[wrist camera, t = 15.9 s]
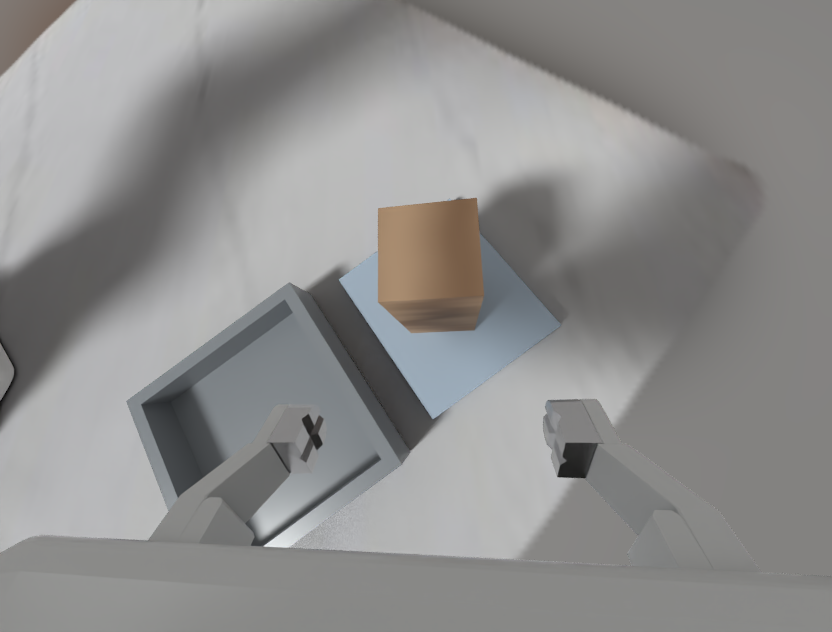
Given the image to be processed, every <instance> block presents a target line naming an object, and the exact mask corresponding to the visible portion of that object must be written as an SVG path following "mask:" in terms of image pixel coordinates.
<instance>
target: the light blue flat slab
mask: <svg viewBox="0 0 832 632" xmlns="http://www.w3.org/2000/svg"><path fill="white" fill-rule="evenodd" d="M447 201H452V200H451V199H448V200H447ZM479 234H480V247H481V260H482V274H483V287H484V298H483V301H482V305H481V309H480V312H479V316H478V319H477V323H476V327H475V330H471V331H450V332H428V333H410V332H409V331H408V330H407V329H406V328H405V327H404V326H403V325H402V324H401V323H400V322H399V321H398V320H397V319H395V318H394V317H393V316H392V315H391V314H390V313H389V312H388V311H387V310H386V309H385V308H384V307H383V306H381V305H380V304H379V303H378V251H377V252H376V253H374V254H373V255H372V256H370V257H369V258H368V259H366V260H365V261H363V262H362V263H361V264H359V265H358V266H357V267H355V268H354V269H353V270H351V271H350V272H348V273H347V274H346V275H344V276H343V277H342V278H340V279H339V281H340V283H341V284H342V286H343V287H344V289H345V290H346V292H347V293H348V294H349V296H350V297H351V299H352V300H353V302H354V303H355V305H356V306H357V308H358V309H359V311H360V312H361V314H362V315H363V317H364V318H365V320H366V321H367V323H368V324H369V326H370V327H371V329H372V330H373V331H374V333H375V334H376V336H377V337H378V339H379V340H380V342H381V343H382V345H383V346H384V348H385V349H386V351H387V352H388V354H389V355H390V357H391V358H392V360H393V361H394V363H395V364H396V366H397V367H398V368H399V370H400V371H401V373H402V374H403V376H404V377H405V379H406V380H407V382H408V383H409V385H410V386H411V388H412V389H413V391H414V392H415V394H416V395H417V397H418V398H419V400H420V401H421V403H422V404H423V405H424V407H425V408H426V410H427V411H428V413H429V414H430V416H431V417H432V419H434V418H436V417H437V416H438V415H440V414H441V413H442V412H444V411H445V410H447V409H448V408H449V407H451V406H452V405H453V404H455V403H456V402H457V401H459V400H460V399H462V398H463V397H464V396H466V395H467V394H468V393H470V392H471V391H472V390H474V389H475V388H477V387H478V386H479V385H481V384H482V383H483V382H485V381H486V380H487V379H489V378H490V377H492V376H493V375H494V374H496V373H497V372H498V371H500V370H501V369H502V368H504V367H505V366H507V365H508V364H509V363H511V362H512V361H513V360H515V359H516V358H517V357H519V356H520V355H522V354H523V353H524V352H526V351H527V350H528V349H530V348H531V347H532V346H534V345H535V344H537V343H538V342H539V341H541V340H542V339H543V338H545V337H546V336H547V335H549V334H550V333H552V332H553V331H554V330H556V329H557V328H558V327H560V326H561V324H560V323H559V322H558V321H557V319H556V318H555V317H554V316H553V315H552V314H551V313H550V311H549V310H548V309H547V308H546V307H545V306H544V305H543V304H542V302H541V301H540V300H539V299H538V298H537V297H536V296H535V294H534V293H533V292H532V291H531V290H530V289H529V288H528V287H527V285H526V284H525V283H524V282H523V281H522V280H521V279H520V277H519V276H518V275H517V274H516V273H515V272H514V271H513V270H512V268H511V267H510V266H509V265H508V264H507V263H506V262H505V260H504V259H503V258H502V257H501V256H500V255H499V254H498V252H497V251H496V250H495V249H494V248H493V247H492V246H491V245H490V243H489V242H488V241H487V240H486V239H485V238H484V237H483V235H482V234H481V233H480V232H479Z"/></svg>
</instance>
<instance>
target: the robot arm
mask: <svg viewBox="0 0 832 632" xmlns="http://www.w3.org/2000/svg"><path fill="white" fill-rule="evenodd" d="M13 376H14V368H13V365H12V364H11V362H10V360H9V358H8V356H7V354H6V353H5V351H4V349H3V347H2V345H1V344H0V400H1V399H2V397H3V396H4V394H5V392H6V390H7V389H8V387H9V385H10V383H11V381H12V379H13ZM545 409H546V412H547V414H546V415H545V416H544V418H543V432H544V436H545V440H546V443H547V445H548V446H549V447H550V448H551V449H552V454H551V459H552V463H553V466H554V469H555V472H556V475H557V477H564V478H586V481H587V482H588V483H589V484H590V485H591V486H592V487H593V488H594V489H595V490H596V492H597V493H598V494H599V495H600V496H601V497H602V498H603V499H604V500H605V501H606V502H607V503H608V504H609V505H610V507H611V508H612V509H613V510H614V511H615V512H616V513H617V514H618V515H619V516H620V517H621V518H622V519H623V520H624V522H625V523H626V524H628V526H629V527H630V528H631V529H632V530H633V531H634V532H635V533H636V534H637V535H638V537H637V539H636V541H635V542H634V544H633V545H632V547H631V549H630V550H629V552H628V554H627V555H628V557H629V560H630V562H631V565H632V566H628V565H608V564H589V563H571V562H551V561H533V560H532V561H531V560H514V559H494V558H475V557H456V556H437V555H418V554H398V553H379V552H360V551H341V550H321V549H302V548H282V547H263V546H251V543H252V541H253V539H254V533H253V532H252V531H251V529H250V528H249V527H248V526H247V525H246V524H245V523H246V522H247V521H248V520H249V519H250V518H251V517H252V516H253V515H254V514H255V513H256V512H257V510H258V509H259V508H260V507H261V506H262V505H263V504H264V503H265V502H266V501H267V500H268V498H269V497H270V496H271V495H272V494H273V493H274V492H275V491H276V490H277V489H278V488H279V487H280V485H281V484H282V483H283V482H284V481H285V480H286V479H287V478H288V477H289V476H290V474H305V473H313V470H314V467H315V465H316V462H317V460H318V457H319V454H318V451H317V450H318V449H319V448H320V447H321V446H322V445H323V444H324V441H325V438H326V432H327V427H326V422H325V419H324V418H322V417H321V416H320V415H319V414H320V411H321V410H320V408H319V406H318V405H301V404H278V405H277V406H275V407H274V408H273V410H272V411H271V413H270V415H269V416H268V418H267V420H266V421H265V423H264V425H263V426H262V428H261V430H260V431H259V433H258V435H257V436H256V438H255V440H254V441H253V443H248V444H247V445H246V446H244V447H243V448H242V449H240V450H239V451H238V452H236V453H235V454H234V455H232V456H231V457H230V458H229V459H227V460H226V461H225V462H223V463H222V464H221V465H219V466H218V467H217V468H215V469H214V470H213V471H211V472H210V473H209V474H207V475H206V476H205V477H203V478H202V479H201V480H200V481H198V482H197V483H196V484H194V485H193V486H192V487H190V488H189V489H188V490H186V491H185V492H184V493H182V494H181V495H180V496H179V498H178V499H177V500H176V502H175V503H174V505H173V506H172V508H171V509H170V510H169V512H168V513H167V515H166V516H165V517H164V519H163V520H162V522H161V523H160V524H159V526H158V527H157V529H156V530H155V531H154V533H153V534H152V536H151V537H150V538H149V540H148V541H147V540H127V539H108V538H88V537H68V536H53V535H40V536H34V537H30V538H27V539H25V540H23V541H21V542H19V543H17V544H15V545H14V546H12V547H10V548H8V549H6V550H5V551H3V552H1V553H0V632H832V576H819V575H801V574H782V573H781V574H780V573H763V572H761V570H760V569H759V567H758V566H757V565H756V563H755V562H754V560H753V559H752V558H751V556H750V555H749V553H748V552H747V550H746V549H745V548H744V546H743V545H742V543H741V542H740V540H739V539H738V538H737V536H736V535H735V533H734V532H733V530H732V529H731V528H730V526H729V525H728V523H727V522H726V520H725V519H724V517H723V516H722V515H721V513H720V512H719V511H718V510H717V509H716V508H714V507H713V506H712V505H710V504H709V503H708V502H706V501H705V500H704V499H702V498H701V497H699V496H698V495H697V494H695V493H694V492H693V491H691V490H690V489H689V488H687V487H686V486H685V485H683V484H682V483H680V482H679V481H678V480H676V479H675V478H674V477H672V476H671V475H670V474H668V473H667V472H665V471H664V470H663V469H661V468H660V467H659V466H657V465H656V464H655V463H653V462H652V461H651V460H649V459H648V458H647V457H645V456H644V455H642V454H641V453H640V452H638V451H637V450H636V449H634V448H633V447H632V446H630V445H629V444H622V442H621V440H620V438H619V436H618V435H617V433H616V431H615V429H614V427H613V426H612V424H611V422H610V420H609V418H608V417H607V415H606V413H605V411H604V409H603V408H602V406H601V404H600V402H599V401H598V400H597V399H580V400H578V399H567V400H547V402H546V406H545Z"/></svg>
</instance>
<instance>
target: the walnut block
mask: <svg viewBox="0 0 832 632" xmlns="http://www.w3.org/2000/svg"><path fill="white" fill-rule="evenodd" d="M483 298H484V287H483V274H482V260H481V247H480V234H479V220H478V207H477V198H471V199H461V200H452V201H443V202H433V203H424V204H414V205H405V206H395V207H386V208H378V303H379V304H380V305H381V306H383V307H384V308H385V309H386V310H387V311H388V312H389V313H390V314H391V315H392V316H393V317H394V318H395V319H397V320H398V321H399V322H400V323H401V324H402V325H403V326H404V327H405V328H406V329H407V330H408V331H409V332H410V333H428V332H450V331H471V330H475V327H476V323H477V319H478V316H479V312H480V309H481V305H482V301H483Z"/></svg>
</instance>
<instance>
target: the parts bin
mask: <svg viewBox="0 0 832 632" xmlns="http://www.w3.org/2000/svg"><path fill="white" fill-rule="evenodd" d="M126 402H127V404H128V407H129V409H130V412H131V415H132V417H133V420H134V423H135V425H136V428H137V430H138V433H139V436H140V438H141V441H142V443H143V446H144V449H145V451H146V454H147V456H148V459H149V462H150V464H151V467H152V469H153V472H154V475H155V477H156V480H157V482H158V485H159V488H160V490H161V493H162V495H163V498H164V501H165V503H166V506H167V508H168V511H169V510H170V509H171V508H172V506H173V505H174V503H175V502H176V500H177V499H178V498H179V496H180V495H181V494H182V493H184V492H185V491H186V490H188V489H189V488H190V487H192V486H193V485H194V484H196V483H197V482H198V481H200V480H201V479H202V478H203V477H205V476H206V475H207V474H209V473H210V472H211V471H213V470H214V469H215V468H217V467H218V466H219V465H221V464H222V463H223V462H225V461H226V460H227V459H229V458H230V457H231V456H232V455H234V454H235V453H236V452H238V451H239V450H240V449H242V448H243V447H244V446H246V445H247V444H248V443H253V441H254V440H255V438H256V436H257V435H258V433H259V431H260V430H261V428H262V426H263V425H264V423H265V421H266V420H267V418H268V416H269V415H270V413H271V411H272V410H273V408H274V407H275V406H277V405H278V404H301V405H318V406H319V408H320V410H321V411H320V414H319V415H320V416H321V417H322V418H324V419H325V422H326V427H327V432H326V438H325V441H324V444H323V445H322V446H321V447H320V448H319V449H318V450H317V451H318V454H319V457H318V460H317V462H316V465H315V467H314V470H313V473H305V474H290V476H289V477H288V478H287V479H286V480H285V481H284V482H283V483H282V484H281V485H280V487H279V488H278V489H277V490H276V491H275V492H274V493H273V494H272V495H271V496H270V497H269V498H268V500H267V501H266V502H265V503H264V504H263V505H262V506H261V507H260V508H259V509H258V510H257V512H256V513H255V514H254V515H253V516H252V517H251V518H250V519H249V520H248V521H247V522H246V523H245V524H246V525H247V526H248V527H249V528H250V529H251V531H252V532H253V533H254V539H253V541H252V543H251V546H263V547H282V548H288V547H290V546H291V545H293V544H294V543H295V542H297V541H298V540H299V539H301V538H302V537H303V536H305V535H306V534H308V533H309V532H310V531H312V530H313V529H314V528H316V527H317V526H318V525H320V524H321V523H323V522H324V521H325V520H327V519H328V518H329V517H331V516H332V515H333V514H335V513H336V512H338V511H339V510H340V509H342V508H343V507H344V506H346V505H347V504H348V503H350V502H351V501H353V500H354V499H355V498H357V497H358V496H359V495H361V494H362V493H363V492H365V491H366V490H368V489H369V488H370V487H372V486H373V485H374V484H376V483H377V482H378V481H380V480H381V479H383V478H384V477H385V476H387V475H388V474H389V473H391V472H392V471H393V470H395V469H396V468H398V467H399V466H400V465H402V463H403V462H404V460H405V459H406V458H407V456H408V455H409V453H410V450H409V449H408V447H407V446H406V444H405V443H404V441H403V439H402V438H401V436H400V435H399V433H398V431H397V430H396V428H395V427H394V425H393V424H392V422H391V420H390V419H389V417H388V416H387V414H386V413H385V411H384V409H383V408H382V406H381V405H380V403H379V401H378V400H377V398H376V397H375V395H374V394H373V392H372V390H371V389H370V387H369V386H368V384H367V383H366V381H365V379H364V378H363V376H362V375H361V373H360V371H359V370H358V368H357V367H356V365H355V364H354V362H353V360H352V359H351V357H350V356H349V354H348V353H347V351H346V349H345V348H344V346H343V345H342V343H341V342H340V340H339V338H338V337H337V335H336V334H335V332H334V330H333V329H332V327H331V326H330V324H329V323H328V321H327V319H326V318H325V316H324V315H323V313H322V312H321V310H320V308H319V307H318V305H317V304H316V302H315V300H314V299H313V297H312V296H311V294H309V293H307V292H305V291H304V290H302V289H300V288H298V287H297V286H295V285H293V284H291V283H290V282H289V283H288V284H286V285H285V286H284V287H282V288H281V289H279V290H278V291H277V292H275V293H274V294H273V295H271V296H270V297H269V298H267V299H266V300H264V301H263V302H262V303H260V304H259V305H258V306H256V307H255V308H253V309H252V310H251V311H249V312H248V313H247V314H245V315H244V316H242V317H241V318H240V319H238V320H237V321H236V322H234V323H233V324H231V325H230V326H229V327H227V328H226V329H225V330H223V331H222V332H221V333H219V334H218V335H216V336H215V337H214V338H212V339H211V340H210V341H208V342H207V343H205V344H204V345H203V346H201V347H200V348H199V349H197V350H196V351H194V352H193V353H192V354H190V355H189V356H188V357H186V358H185V359H183V360H182V361H181V362H179V363H178V364H177V365H175V366H174V367H173V368H171V369H170V370H168V371H167V372H166V373H164V374H163V375H162V376H160V377H159V378H157V379H156V380H155V381H153V382H152V383H151V384H149V385H148V386H146V387H145V388H144V389H142V390H141V391H140V392H138V393H137V394H135V395H134V396H133V397H131V398H130V399H129V400H127V401H126Z"/></svg>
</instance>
